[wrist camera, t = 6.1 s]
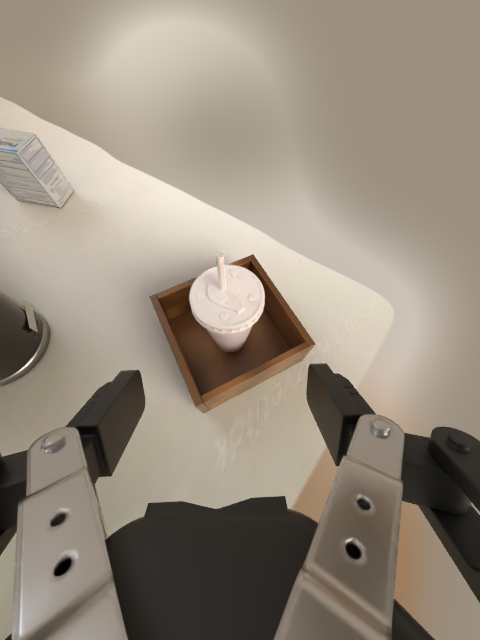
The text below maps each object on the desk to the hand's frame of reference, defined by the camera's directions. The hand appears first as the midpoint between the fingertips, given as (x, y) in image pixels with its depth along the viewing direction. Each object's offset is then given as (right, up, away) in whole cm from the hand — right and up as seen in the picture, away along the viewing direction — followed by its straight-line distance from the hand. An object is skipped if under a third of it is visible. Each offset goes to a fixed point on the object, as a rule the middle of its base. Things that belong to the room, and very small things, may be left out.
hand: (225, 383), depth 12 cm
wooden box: (0, +1, +18) cm, 18 cm away
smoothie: (0, +1, +17) cm, 18 cm away
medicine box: (-31, +23, +28) cm, 48 cm away
